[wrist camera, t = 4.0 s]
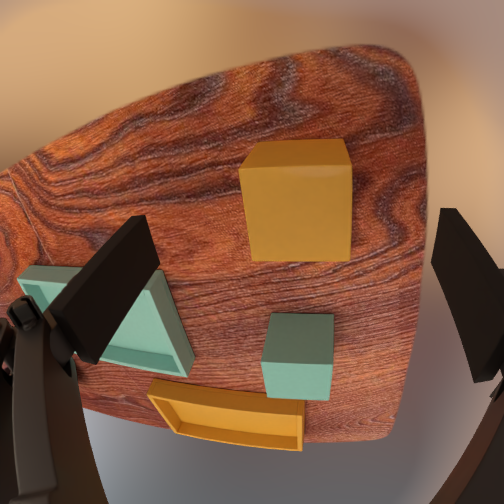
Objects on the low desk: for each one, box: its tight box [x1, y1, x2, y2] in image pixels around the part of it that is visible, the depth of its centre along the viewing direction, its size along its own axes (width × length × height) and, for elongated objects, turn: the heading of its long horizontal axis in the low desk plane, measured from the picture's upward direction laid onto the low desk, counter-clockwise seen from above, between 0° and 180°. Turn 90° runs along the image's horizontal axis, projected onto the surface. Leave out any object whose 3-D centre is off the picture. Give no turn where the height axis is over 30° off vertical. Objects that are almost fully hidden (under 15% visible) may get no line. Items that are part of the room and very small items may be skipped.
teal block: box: [261, 313, 334, 400], centre depth 24 cm, size 5×5×5 cm
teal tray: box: [17, 265, 195, 377], centre depth 29 cm, size 18×11×3 cm, turn 97°
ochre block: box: [238, 139, 352, 261], centre depth 17 cm, size 5×5×5 cm
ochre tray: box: [147, 378, 305, 451], centre depth 35 cm, size 18×11×3 cm, turn 98°
